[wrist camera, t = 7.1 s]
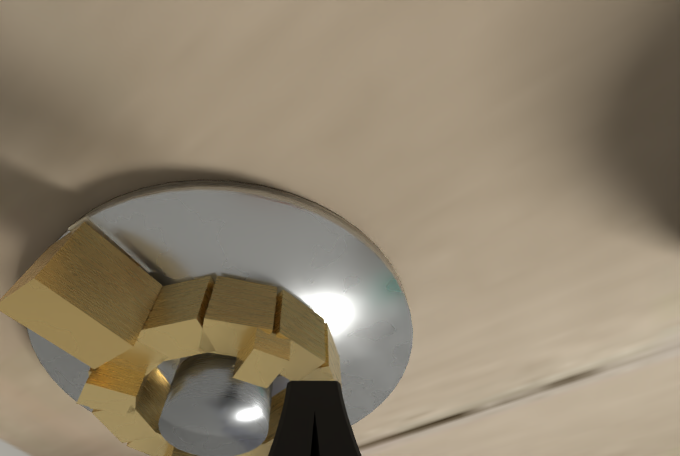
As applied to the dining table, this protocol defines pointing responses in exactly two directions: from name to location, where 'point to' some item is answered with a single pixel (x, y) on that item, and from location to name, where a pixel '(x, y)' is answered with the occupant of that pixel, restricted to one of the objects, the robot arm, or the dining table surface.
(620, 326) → the dining table surface
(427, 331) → the dining table surface
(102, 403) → the ring nut
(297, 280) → the flange
